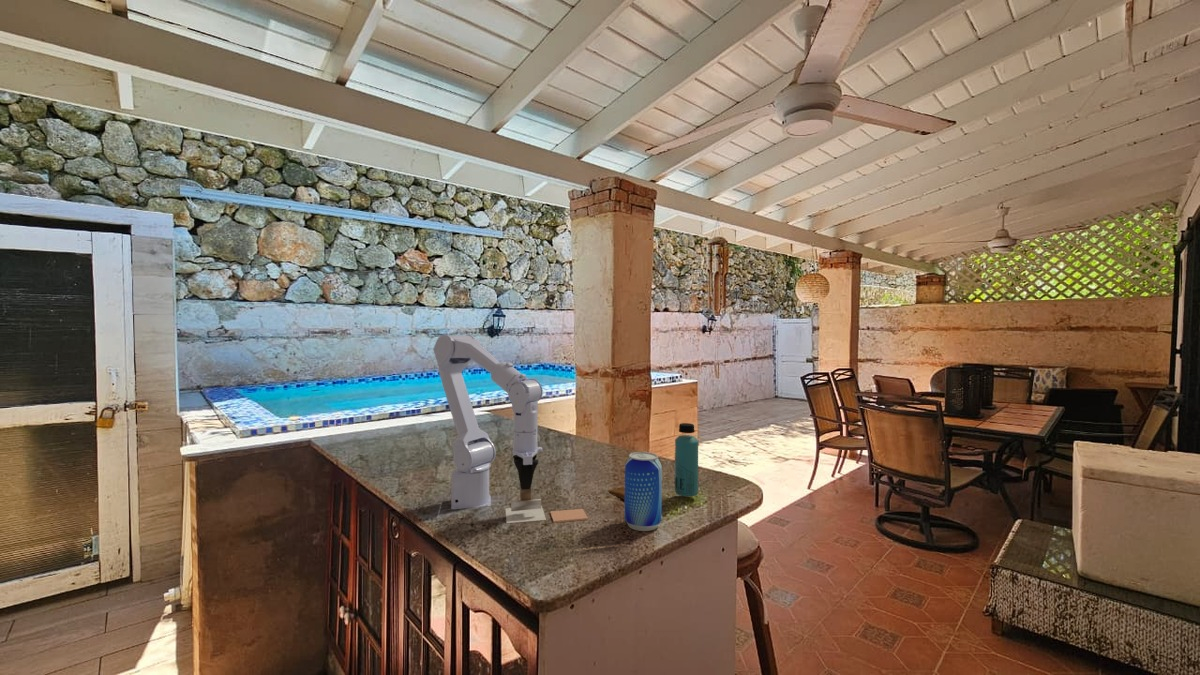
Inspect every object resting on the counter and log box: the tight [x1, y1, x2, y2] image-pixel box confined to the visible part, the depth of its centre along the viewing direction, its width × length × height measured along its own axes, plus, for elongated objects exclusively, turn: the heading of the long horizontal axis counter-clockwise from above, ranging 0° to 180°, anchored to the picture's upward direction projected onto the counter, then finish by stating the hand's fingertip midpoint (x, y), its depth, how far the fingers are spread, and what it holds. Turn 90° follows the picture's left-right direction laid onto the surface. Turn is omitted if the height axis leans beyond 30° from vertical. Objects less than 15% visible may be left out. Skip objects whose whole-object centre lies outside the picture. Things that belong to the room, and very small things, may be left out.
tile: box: [550, 508, 589, 524], centre depth 110 cm, size 8×1×6 cm
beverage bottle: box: [673, 422, 700, 497], centre depth 124 cm, size 6×7×20 cm
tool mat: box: [505, 505, 547, 524], centre depth 111 cm, size 9×9×1 cm
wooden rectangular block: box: [510, 485, 542, 511], centre depth 110 cm, size 7×3×7 cm, turn 103°
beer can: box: [624, 451, 663, 532], centre depth 106 cm, size 8×8×16 cm
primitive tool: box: [608, 486, 625, 500], centre depth 122 cm, size 19×6×4 cm, turn 27°
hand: (525, 486), depth 111 cm, fingers closed on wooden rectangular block, 2 cm apart
